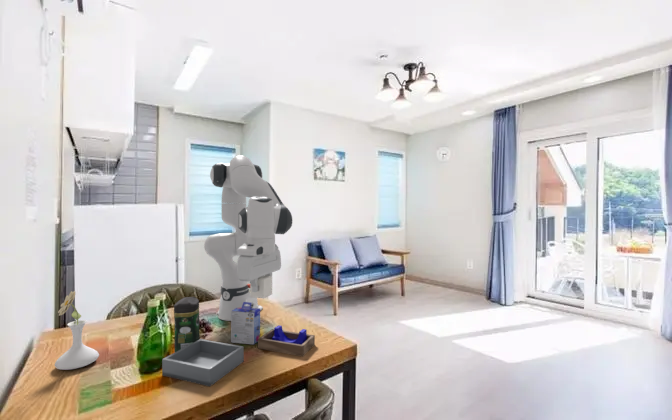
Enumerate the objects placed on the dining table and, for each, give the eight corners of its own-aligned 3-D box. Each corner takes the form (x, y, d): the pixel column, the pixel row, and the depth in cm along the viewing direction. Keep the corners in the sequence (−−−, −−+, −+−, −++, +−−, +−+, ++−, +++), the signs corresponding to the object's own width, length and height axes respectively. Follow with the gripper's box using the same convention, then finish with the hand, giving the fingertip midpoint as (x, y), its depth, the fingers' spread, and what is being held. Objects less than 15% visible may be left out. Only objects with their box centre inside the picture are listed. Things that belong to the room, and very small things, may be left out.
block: (259, 292, 109) (259, 275, 109) (272, 294, 108) (272, 276, 107) (250, 296, 105) (250, 278, 104) (263, 298, 103) (263, 279, 103)
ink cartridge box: (261, 339, 127) (260, 302, 127) (254, 345, 121) (254, 306, 121) (237, 337, 129) (237, 300, 129) (230, 343, 123) (230, 304, 123)
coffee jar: (178, 345, 121) (178, 295, 121) (201, 343, 123) (201, 294, 122) (171, 357, 112) (170, 303, 111) (196, 355, 113) (195, 302, 113)
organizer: (272, 337, 128) (272, 329, 128) (314, 344, 122) (314, 335, 122) (258, 348, 119) (258, 338, 119) (302, 356, 112) (302, 346, 112)
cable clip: (272, 345, 122) (272, 329, 122) (278, 340, 126) (278, 325, 126) (301, 350, 118) (301, 334, 117) (306, 345, 122) (306, 329, 122)
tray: (200, 352, 115) (200, 338, 115) (243, 361, 109) (243, 346, 109) (162, 375, 100) (162, 359, 100) (209, 386, 94) (209, 369, 94)
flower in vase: (61, 360, 109) (60, 286, 109) (102, 354, 114) (102, 282, 114) (46, 379, 98) (45, 296, 97) (92, 371, 102) (91, 292, 102)
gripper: (269, 242, 117) (269, 281, 117) (233, 250, 97) (233, 296, 98) (285, 243, 114) (285, 282, 115) (251, 251, 95) (251, 298, 96)
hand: (261, 289), depth 106 cm, fingers closed on block, 5 cm apart
